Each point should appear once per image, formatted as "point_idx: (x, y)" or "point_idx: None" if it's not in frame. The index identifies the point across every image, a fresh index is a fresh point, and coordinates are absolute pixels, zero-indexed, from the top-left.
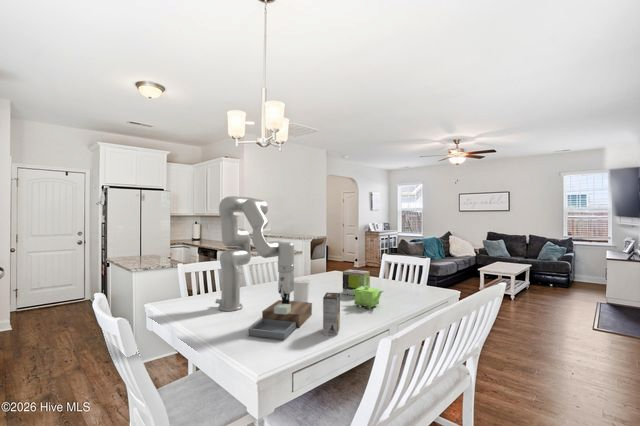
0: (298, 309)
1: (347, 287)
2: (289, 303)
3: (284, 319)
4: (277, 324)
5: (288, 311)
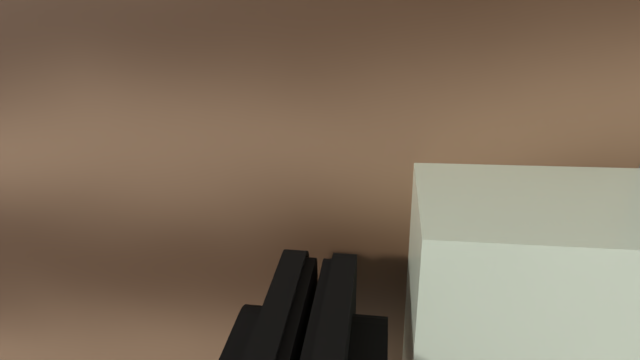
0: (274, 23)
1: None
2: (5, 295)
3: None
4: None
5: (600, 180)
